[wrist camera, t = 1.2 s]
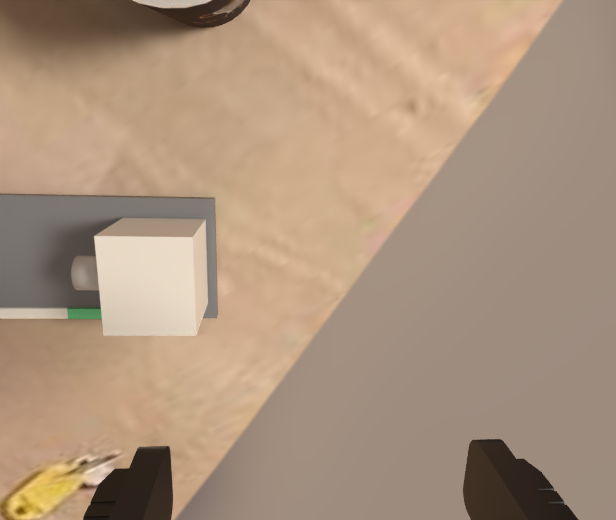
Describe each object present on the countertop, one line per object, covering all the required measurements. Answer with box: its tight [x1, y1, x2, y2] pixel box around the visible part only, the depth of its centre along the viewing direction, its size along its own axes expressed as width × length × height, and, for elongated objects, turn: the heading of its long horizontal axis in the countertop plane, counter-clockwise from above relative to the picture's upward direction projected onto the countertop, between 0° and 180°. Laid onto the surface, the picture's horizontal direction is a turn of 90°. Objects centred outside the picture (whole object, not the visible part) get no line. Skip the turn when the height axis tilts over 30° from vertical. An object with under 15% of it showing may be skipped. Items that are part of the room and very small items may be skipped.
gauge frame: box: [0, 194, 218, 319], centre depth 28 cm, size 17×8×6 cm, turn 88°
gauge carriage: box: [71, 218, 208, 336], centre depth 28 cm, size 7×7×5 cm
